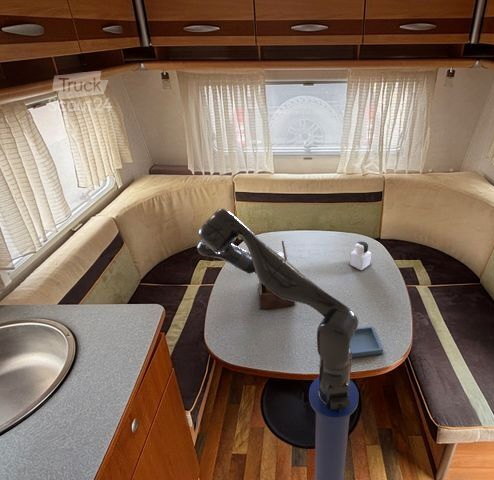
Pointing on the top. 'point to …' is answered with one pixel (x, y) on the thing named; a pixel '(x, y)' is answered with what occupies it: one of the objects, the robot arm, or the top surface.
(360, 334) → the tray
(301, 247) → the top surface
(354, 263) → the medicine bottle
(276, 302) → the chest
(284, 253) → the chest lid
